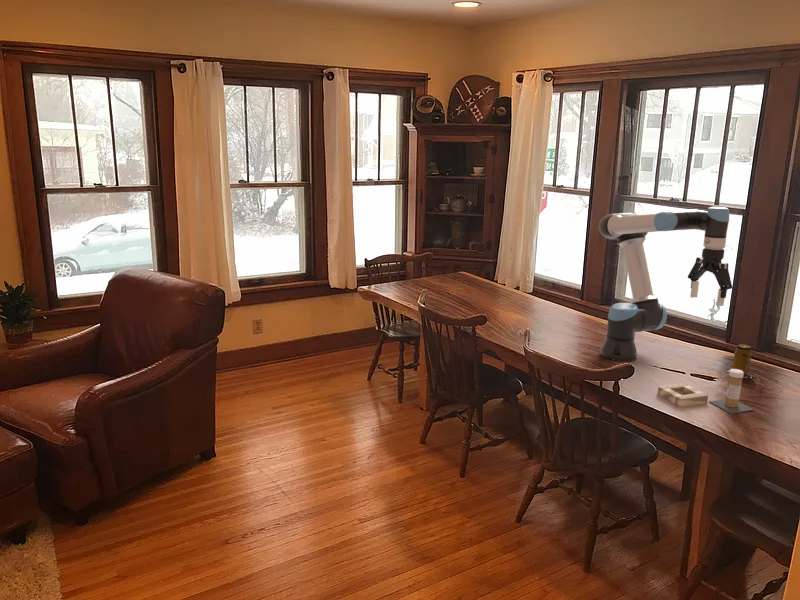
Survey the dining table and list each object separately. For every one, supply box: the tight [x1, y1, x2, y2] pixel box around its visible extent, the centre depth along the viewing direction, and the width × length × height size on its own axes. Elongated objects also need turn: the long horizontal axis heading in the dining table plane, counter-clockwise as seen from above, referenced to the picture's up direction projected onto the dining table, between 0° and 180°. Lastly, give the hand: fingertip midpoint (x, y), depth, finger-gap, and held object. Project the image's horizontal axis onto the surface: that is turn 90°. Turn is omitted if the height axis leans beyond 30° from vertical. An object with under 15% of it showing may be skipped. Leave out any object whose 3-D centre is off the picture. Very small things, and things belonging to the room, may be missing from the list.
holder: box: [657, 382, 709, 408], centre depth 230 cm, size 12×12×3 cm
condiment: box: [726, 343, 753, 379], centre depth 253 cm, size 7×8×12 cm
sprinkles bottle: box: [724, 368, 744, 408], centre depth 222 cm, size 5×5×14 cm
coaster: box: [709, 398, 754, 415], centre depth 223 cm, size 10×10×1 cm
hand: (706, 301), depth 243 cm, fingers open, 13 cm apart
